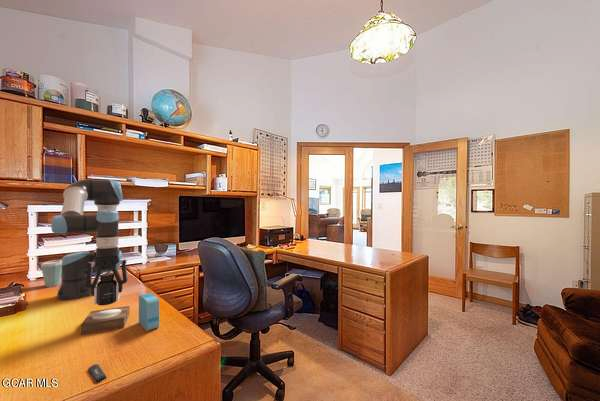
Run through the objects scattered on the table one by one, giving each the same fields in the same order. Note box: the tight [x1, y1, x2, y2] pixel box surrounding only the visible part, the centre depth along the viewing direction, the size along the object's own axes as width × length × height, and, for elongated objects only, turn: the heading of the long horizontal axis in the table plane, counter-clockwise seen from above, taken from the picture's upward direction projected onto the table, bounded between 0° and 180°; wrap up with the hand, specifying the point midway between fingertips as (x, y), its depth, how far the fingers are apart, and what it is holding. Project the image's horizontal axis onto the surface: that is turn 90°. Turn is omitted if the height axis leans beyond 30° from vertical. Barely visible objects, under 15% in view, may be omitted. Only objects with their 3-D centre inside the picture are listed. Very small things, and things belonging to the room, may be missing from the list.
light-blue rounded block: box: [138, 292, 160, 332], centre depth 109 cm, size 12×4×12 cm, turn 45°
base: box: [80, 305, 130, 336], centre depth 110 cm, size 14×14×4 cm
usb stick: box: [87, 363, 107, 383], centre depth 78 cm, size 10×3×2 cm, turn 50°
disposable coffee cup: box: [40, 259, 62, 288], centre depth 162 cm, size 11×11×15 cm
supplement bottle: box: [96, 272, 118, 307], centre depth 110 cm, size 7×7×12 cm
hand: (107, 301), depth 110 cm, fingers closed on supplement bottle, 7 cm apart
